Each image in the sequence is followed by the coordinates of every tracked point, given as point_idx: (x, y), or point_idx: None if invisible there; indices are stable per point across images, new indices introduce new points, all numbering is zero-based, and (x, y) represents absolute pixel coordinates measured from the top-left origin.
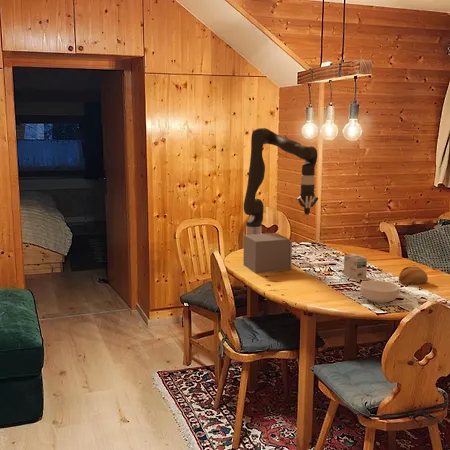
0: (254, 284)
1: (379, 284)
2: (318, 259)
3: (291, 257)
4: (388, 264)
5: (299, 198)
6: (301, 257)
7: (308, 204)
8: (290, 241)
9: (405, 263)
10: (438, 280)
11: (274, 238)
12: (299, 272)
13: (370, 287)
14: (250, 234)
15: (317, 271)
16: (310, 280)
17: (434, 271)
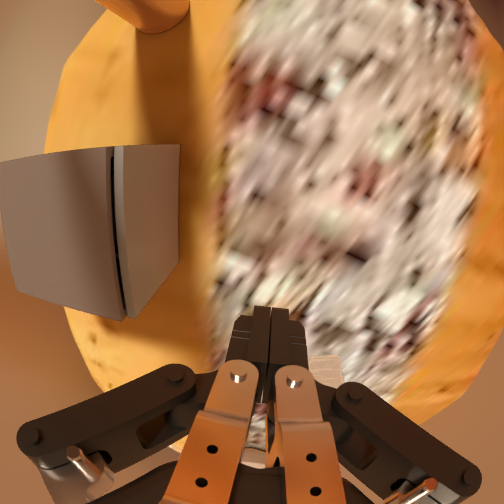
0: (70, 322)
1: (265, 460)
2: (358, 173)
3: (163, 281)
4: (470, 316)
5: (68, 484)
6: (312, 113)
7: (266, 447)
8: (129, 316)
9: (495, 319)
10: (422, 418)
11: (67, 276)
12: (192, 295)
13: (251, 453)
14: (96, 1)
15: (252, 308)
16: (189, 359)
17: (471, 378)
